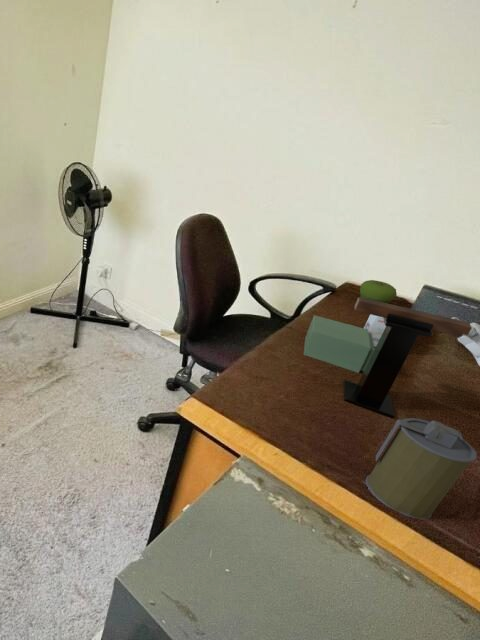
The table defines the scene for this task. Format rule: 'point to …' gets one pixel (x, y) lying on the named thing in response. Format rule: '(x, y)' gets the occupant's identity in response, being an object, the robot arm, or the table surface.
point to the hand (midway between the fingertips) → (455, 327)
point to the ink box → (375, 327)
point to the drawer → (368, 353)
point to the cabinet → (337, 343)
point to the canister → (419, 466)
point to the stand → (385, 365)
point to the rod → (413, 316)
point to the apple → (377, 291)
